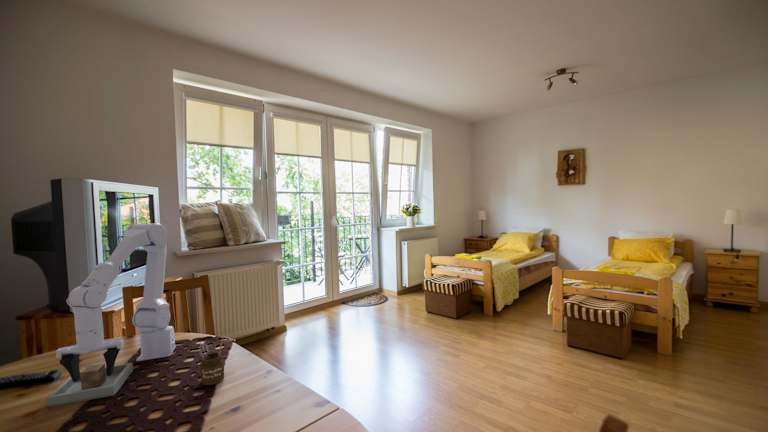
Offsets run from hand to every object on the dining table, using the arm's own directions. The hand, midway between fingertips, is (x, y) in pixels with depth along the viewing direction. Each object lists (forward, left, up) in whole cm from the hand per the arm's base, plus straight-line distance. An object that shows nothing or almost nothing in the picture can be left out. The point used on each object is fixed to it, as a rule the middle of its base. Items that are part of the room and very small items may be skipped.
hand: (93, 377), depth 95 cm
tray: (0, 0, -3) cm, 3 cm away
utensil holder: (-31, +9, -3) cm, 32 cm away
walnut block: (0, 0, -2) cm, 2 cm away
